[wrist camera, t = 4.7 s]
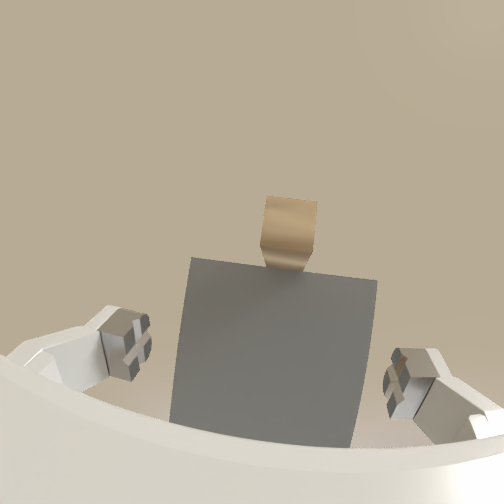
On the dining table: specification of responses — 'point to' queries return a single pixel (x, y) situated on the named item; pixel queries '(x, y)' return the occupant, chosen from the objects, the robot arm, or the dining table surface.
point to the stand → (272, 353)
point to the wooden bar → (288, 232)
